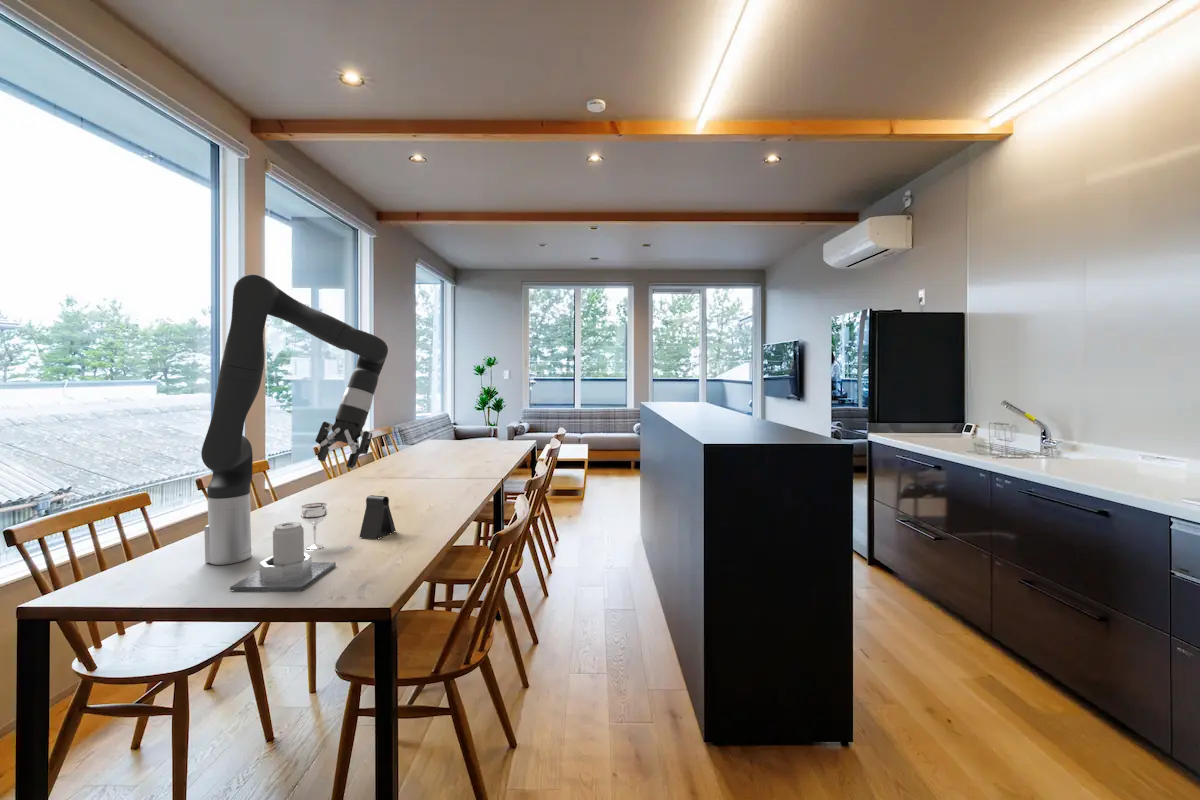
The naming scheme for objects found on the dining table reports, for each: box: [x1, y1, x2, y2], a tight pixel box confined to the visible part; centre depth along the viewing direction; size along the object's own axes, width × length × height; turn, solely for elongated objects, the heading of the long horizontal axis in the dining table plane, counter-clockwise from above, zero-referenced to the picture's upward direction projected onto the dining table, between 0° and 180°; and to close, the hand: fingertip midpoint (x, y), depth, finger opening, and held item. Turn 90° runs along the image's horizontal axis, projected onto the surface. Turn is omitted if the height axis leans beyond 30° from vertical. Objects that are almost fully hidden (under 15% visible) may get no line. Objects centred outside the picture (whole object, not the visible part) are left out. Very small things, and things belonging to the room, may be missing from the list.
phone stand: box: [359, 495, 397, 540], centre depth 164 cm, size 9×6×12 cm, turn 162°
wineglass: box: [300, 502, 329, 551], centre depth 152 cm, size 7×7×12 cm
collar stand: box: [229, 552, 337, 592], centre depth 129 cm, size 16×16×4 cm
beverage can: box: [272, 521, 305, 565], centre depth 128 cm, size 6×6×12 cm
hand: (335, 464), depth 144 cm, fingers open, 8 cm apart
